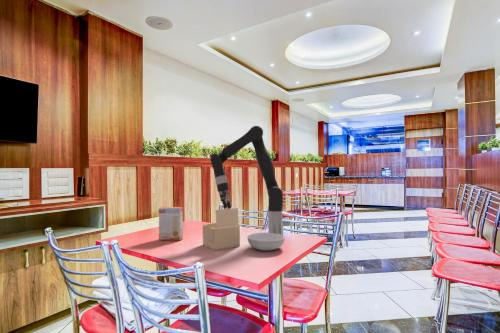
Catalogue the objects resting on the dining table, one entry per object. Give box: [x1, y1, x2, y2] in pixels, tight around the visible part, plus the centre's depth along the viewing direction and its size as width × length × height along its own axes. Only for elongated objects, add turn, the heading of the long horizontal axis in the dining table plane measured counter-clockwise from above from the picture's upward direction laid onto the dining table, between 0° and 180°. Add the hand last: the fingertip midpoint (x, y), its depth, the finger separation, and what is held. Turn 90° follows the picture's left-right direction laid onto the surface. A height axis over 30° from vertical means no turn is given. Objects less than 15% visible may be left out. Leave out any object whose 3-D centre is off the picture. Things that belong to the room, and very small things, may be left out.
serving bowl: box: [246, 232, 286, 252], centre depth 160 cm, size 21×21×7 cm
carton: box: [202, 222, 241, 252], centre depth 167 cm, size 17×17×12 cm
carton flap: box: [215, 207, 240, 228], centre depth 160 cm, size 10×14×1 cm
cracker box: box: [158, 206, 184, 242], centre depth 182 cm, size 14×6×21 cm, turn 84°
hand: (227, 208), depth 178 cm, fingers open, 8 cm apart
